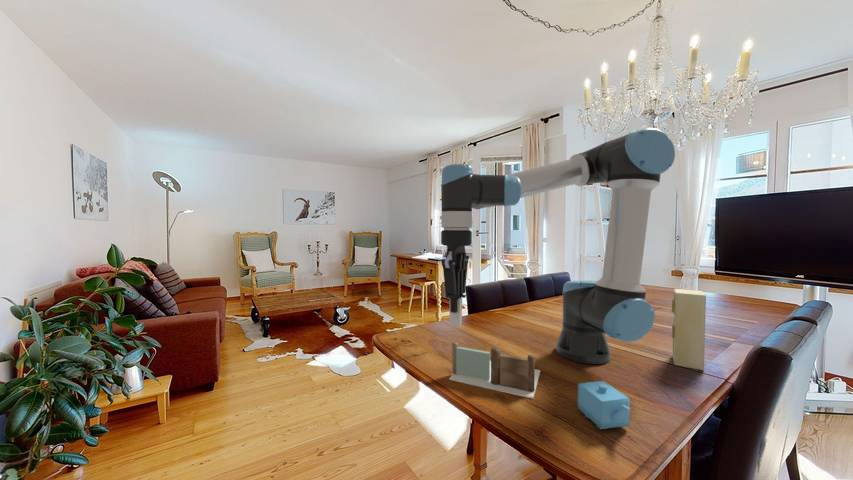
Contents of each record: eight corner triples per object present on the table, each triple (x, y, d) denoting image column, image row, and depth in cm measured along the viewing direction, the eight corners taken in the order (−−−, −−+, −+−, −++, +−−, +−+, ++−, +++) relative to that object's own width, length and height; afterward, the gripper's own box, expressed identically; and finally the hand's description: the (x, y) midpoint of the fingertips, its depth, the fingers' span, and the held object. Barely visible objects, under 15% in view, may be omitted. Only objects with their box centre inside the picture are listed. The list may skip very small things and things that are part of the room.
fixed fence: (535, 388, 77) (535, 354, 76) (533, 393, 75) (534, 358, 74) (492, 379, 81) (492, 347, 81) (489, 383, 79) (489, 350, 79)
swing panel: (489, 378, 81) (490, 348, 81) (488, 381, 80) (488, 350, 80) (453, 370, 86) (453, 341, 85) (451, 372, 84) (451, 343, 84)
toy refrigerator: (669, 355, 97) (671, 287, 96) (700, 361, 93) (703, 290, 92) (670, 364, 90) (672, 292, 89) (704, 371, 86) (707, 295, 85)
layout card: (540, 371, 86) (540, 369, 86) (533, 398, 73) (533, 396, 73) (467, 357, 96) (467, 356, 96) (449, 379, 82) (449, 377, 82)
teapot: (643, 441, 59) (644, 402, 58) (614, 445, 58) (615, 406, 57) (597, 405, 70) (598, 372, 70) (573, 408, 69) (573, 375, 69)
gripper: (451, 228, 84) (451, 315, 85) (431, 229, 73) (430, 329, 74) (478, 229, 81) (477, 319, 82) (461, 229, 69) (460, 334, 70)
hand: (455, 324), depth 78 cm, fingers closed
